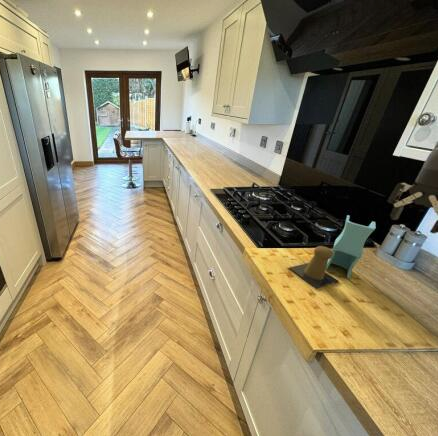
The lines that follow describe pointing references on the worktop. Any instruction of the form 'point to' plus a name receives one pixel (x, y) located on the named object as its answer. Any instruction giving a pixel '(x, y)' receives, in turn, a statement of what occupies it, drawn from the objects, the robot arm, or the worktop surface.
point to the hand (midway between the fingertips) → (412, 225)
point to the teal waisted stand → (350, 245)
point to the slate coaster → (314, 282)
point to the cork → (318, 263)
